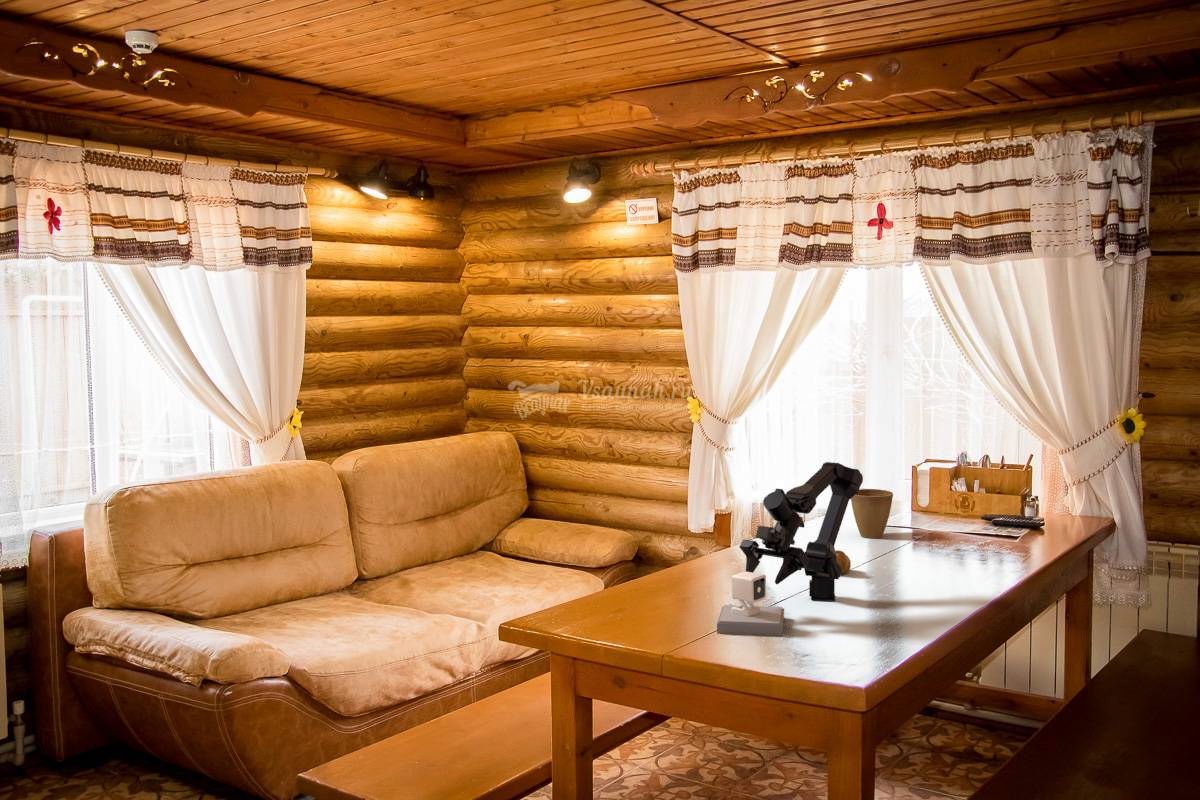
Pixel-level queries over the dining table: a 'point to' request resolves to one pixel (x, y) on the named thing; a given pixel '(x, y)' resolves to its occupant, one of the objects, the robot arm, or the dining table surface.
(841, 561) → the bread roll
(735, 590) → the security camera
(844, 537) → the dining table surface
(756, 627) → the grey square slab
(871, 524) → the plant pot
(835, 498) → the robot arm
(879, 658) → the dining table surface
